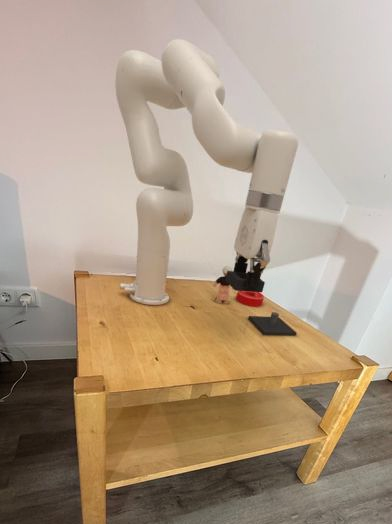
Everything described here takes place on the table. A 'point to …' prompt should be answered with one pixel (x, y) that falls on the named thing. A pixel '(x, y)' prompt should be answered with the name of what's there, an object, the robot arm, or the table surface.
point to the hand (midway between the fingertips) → (244, 283)
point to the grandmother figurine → (223, 286)
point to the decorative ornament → (250, 298)
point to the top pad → (241, 281)
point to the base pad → (272, 325)
